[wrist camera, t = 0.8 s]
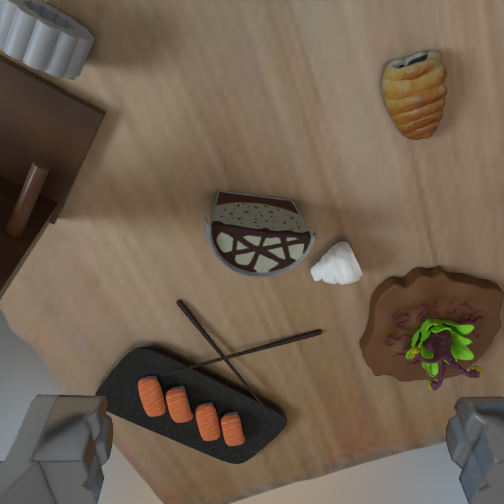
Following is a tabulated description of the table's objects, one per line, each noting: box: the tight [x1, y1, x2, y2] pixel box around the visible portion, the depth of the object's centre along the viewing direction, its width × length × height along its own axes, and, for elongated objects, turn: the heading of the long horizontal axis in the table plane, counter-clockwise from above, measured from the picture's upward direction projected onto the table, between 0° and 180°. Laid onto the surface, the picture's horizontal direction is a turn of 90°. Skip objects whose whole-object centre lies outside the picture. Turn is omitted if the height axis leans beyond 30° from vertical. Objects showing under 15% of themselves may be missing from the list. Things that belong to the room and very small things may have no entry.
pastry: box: [381, 50, 447, 140], centre depth 52 cm, size 9×7×4 cm
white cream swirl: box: [311, 241, 363, 285], centre depth 62 cm, size 6×6×5 cm
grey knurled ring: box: [0, 0, 95, 80], centre depth 45 cm, size 4×8×8 cm, turn 59°
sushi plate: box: [95, 300, 322, 464], centre depth 72 cm, size 29×30×4 cm
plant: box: [360, 266, 504, 390], centre depth 66 cm, size 20×20×11 cm
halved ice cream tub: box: [204, 190, 316, 278], centre depth 56 cm, size 12×6×10 cm, turn 81°
